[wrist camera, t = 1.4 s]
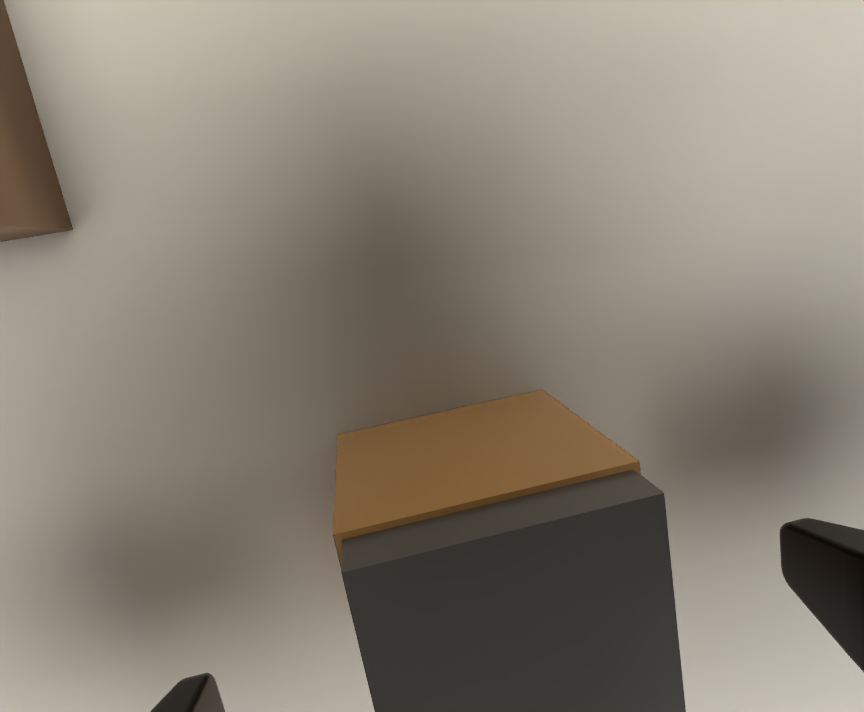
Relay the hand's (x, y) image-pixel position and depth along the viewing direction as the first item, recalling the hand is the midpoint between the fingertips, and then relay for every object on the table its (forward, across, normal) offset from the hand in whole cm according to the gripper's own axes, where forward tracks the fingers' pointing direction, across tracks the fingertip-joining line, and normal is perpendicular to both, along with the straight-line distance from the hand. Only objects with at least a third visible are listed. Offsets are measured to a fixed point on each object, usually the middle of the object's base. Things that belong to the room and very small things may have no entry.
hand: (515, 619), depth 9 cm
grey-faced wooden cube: (+4, 0, 0) cm, 4 cm away
